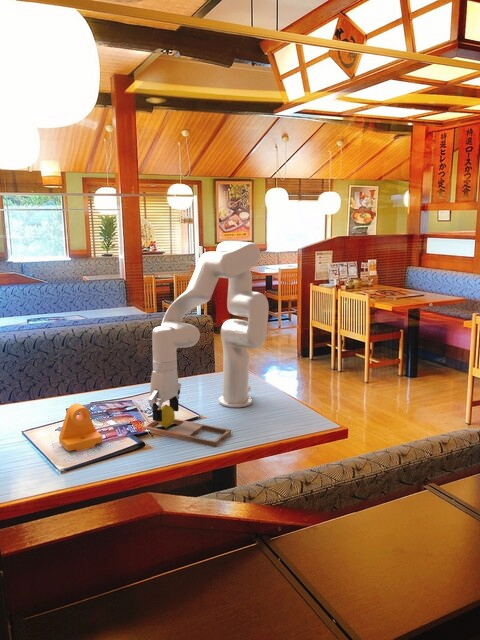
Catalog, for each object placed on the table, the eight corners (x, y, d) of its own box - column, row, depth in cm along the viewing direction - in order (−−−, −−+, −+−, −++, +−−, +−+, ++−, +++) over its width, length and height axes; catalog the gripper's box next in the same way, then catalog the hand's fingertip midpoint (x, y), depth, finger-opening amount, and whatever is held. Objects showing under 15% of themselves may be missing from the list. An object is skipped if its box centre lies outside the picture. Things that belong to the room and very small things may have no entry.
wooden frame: (161, 420, 174) (160, 415, 174) (231, 434, 163) (231, 430, 162) (142, 431, 164) (142, 426, 164) (215, 447, 153) (215, 442, 153)
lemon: (171, 432, 164) (171, 408, 163) (155, 430, 165) (154, 406, 164) (176, 425, 169) (176, 402, 168) (161, 424, 170) (160, 401, 169)
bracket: (68, 453, 148) (66, 414, 146) (59, 445, 153) (57, 407, 151) (103, 444, 154) (101, 406, 152) (93, 436, 160) (92, 400, 158)
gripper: (169, 357, 172) (170, 405, 176) (138, 370, 157) (140, 422, 160) (188, 359, 169) (189, 408, 172) (159, 373, 154) (160, 427, 157)
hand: (165, 415), depth 166 cm, fingers open, 9 cm apart
